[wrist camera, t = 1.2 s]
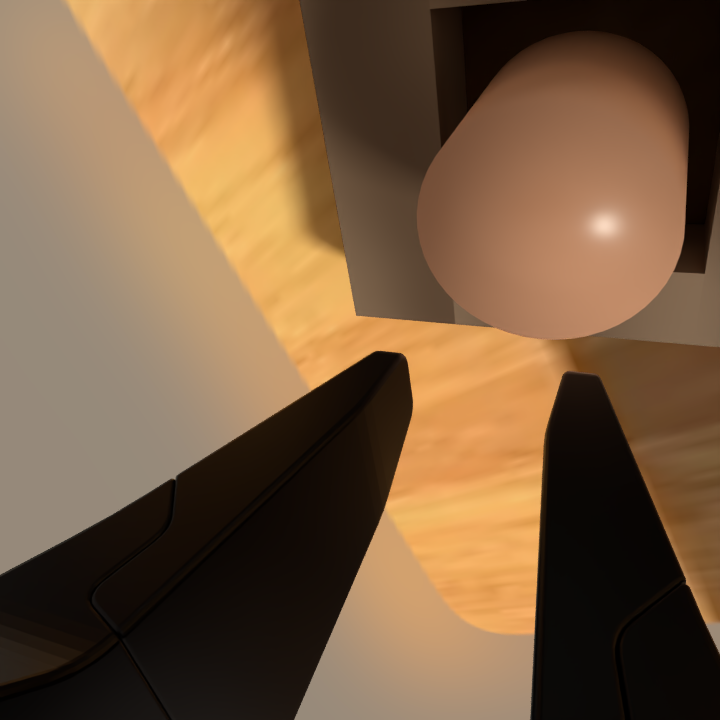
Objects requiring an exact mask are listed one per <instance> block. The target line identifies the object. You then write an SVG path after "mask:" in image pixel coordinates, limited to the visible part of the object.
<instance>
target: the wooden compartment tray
mask: <svg viewBox="0 0 720 720" xmlns="http://www.w3.org/2000/svg"><path fill="white" fill-rule="evenodd" d="M514 1H525V0H300V6H301V11H302V17H303V23H304V28H305V34H306V39H307V45H308V50H309V56H310V62H311V67H312V73H313V78H314V84H315V89H316V95H317V100H318V106H319V112H320V117H321V123H322V128H323V134H324V139H325V145H326V150H327V156H328V162H329V167H330V173H331V178H332V184H333V189H334V195H335V200H336V206H337V212H338V217H339V223H340V228H341V234H342V239H343V245H344V251H345V256H346V262H347V267H348V273H349V278H350V284H351V289H352V295H353V301H354V306H355V312H356V316H367V317H379V318H390V319H402V320H413V321H425V322H436V323H448V324H459V325H471V326H482V327H493V326H491V325H489V324H487V323H485V322H483V321H481V320H479V319H478V318H476V317H475V316H473V315H471V314H470V313H468V312H467V311H466V310H465V309H463V308H462V307H461V306H460V305H458V304H457V303H456V302H455V301H454V300H453V299H452V298H451V297H450V296H449V295H448V294H447V293H446V292H445V290H444V289H443V288H442V287H441V285H440V284H439V283H438V281H437V280H436V278H435V277H434V275H433V273H432V272H431V270H430V268H429V266H428V264H427V262H426V260H425V257H424V255H423V251H422V248H421V245H420V241H419V235H418V230H417V206H418V198H419V194H420V190H421V185H422V183H423V180H424V178H425V175H426V173H427V170H428V168H429V167H430V165H431V163H432V161H433V160H434V158H435V156H436V155H437V154H438V152H439V151H440V150H441V148H442V147H443V145H444V144H445V143H446V141H447V140H448V139H449V137H450V136H451V135H452V133H453V132H454V131H455V129H456V128H457V127H458V125H459V124H460V122H461V121H462V120H463V118H464V117H465V116H466V114H467V96H466V78H465V60H464V42H463V24H462V6H470V5H481V4H492V3H503V2H514ZM494 328H495V327H494ZM589 336H597V337H609V338H620V339H632V340H643V341H655V342H666V343H678V344H689V345H701V346H712V347H720V132H719V138H718V144H717V150H716V157H715V163H714V169H713V176H712V182H711V188H710V195H709V201H708V207H707V213H706V220H705V225H703V224H685V232H684V241H683V245H682V250H681V254H680V257H679V259H678V262H677V264H676V267H675V269H674V271H673V273H672V275H671V276H670V278H669V280H668V282H667V283H666V285H665V286H664V287H663V288H662V290H661V291H660V292H659V294H658V295H657V296H656V297H655V298H654V299H653V300H652V301H651V302H650V303H649V304H648V305H647V306H646V307H645V308H643V309H642V310H641V311H639V312H638V313H637V314H635V315H634V316H633V317H631V318H630V319H628V320H626V321H624V322H623V323H621V324H619V325H617V326H615V327H612V328H610V329H608V330H605V331H603V332H599V333H596V334H592V335H589Z"/></svg>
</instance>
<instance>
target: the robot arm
mask: <svg viewBox="0 0 720 720" xmlns="http://www.w3.org/2000/svg"><path fill="white" fill-rule="evenodd" d="M412 410H413V398H412V390H411V383H410V376H409V368H408V362H407V359H406V357H405V356H404V355H403V354H401V353H395V352H385V351H375V352H373V353H371V354H370V355H368V356H366V357H365V358H363V359H362V360H360V361H358V362H357V363H355V364H354V365H352V366H350V367H349V368H347V369H346V370H344V371H342V372H341V373H339V374H338V375H336V376H334V377H333V378H331V379H330V380H328V381H327V382H325V383H323V384H322V385H320V386H319V387H317V388H315V389H314V390H312V391H311V392H309V393H308V394H306V395H304V396H303V397H301V398H299V399H298V400H296V401H295V402H293V403H291V404H290V405H288V406H287V407H285V408H283V409H282V410H280V411H279V412H277V413H275V414H274V415H272V416H271V417H269V418H268V419H266V420H264V421H263V422H261V423H259V424H258V425H256V426H255V427H253V428H252V429H250V430H248V431H247V432H245V433H244V434H242V435H240V436H239V437H237V438H236V439H234V440H232V441H231V442H229V443H228V444H226V445H224V446H223V447H221V448H220V449H218V450H216V451H215V452H213V453H212V454H210V455H208V456H207V457H205V458H204V459H202V460H201V461H199V462H197V463H196V464H194V465H192V466H191V467H189V468H188V469H186V470H185V471H183V472H181V473H180V474H178V475H177V476H176V480H174V479H170V480H168V481H167V482H165V483H163V484H162V485H160V486H159V487H157V488H155V489H154V490H152V491H151V492H149V493H147V494H146V495H144V496H143V497H141V498H139V499H137V500H136V501H134V502H132V503H131V504H129V505H127V506H126V507H124V508H122V509H121V510H120V511H117V512H116V513H114V514H113V515H111V516H109V517H107V518H106V519H104V520H102V521H100V522H98V523H96V524H94V525H93V526H91V527H89V528H87V529H85V530H84V531H82V532H80V533H78V534H76V535H75V536H73V537H71V538H69V539H67V540H65V541H64V542H61V543H60V544H58V545H56V546H54V547H52V548H50V549H48V550H46V551H44V552H43V553H41V554H39V555H37V556H35V557H33V558H31V559H30V560H27V561H25V562H24V563H22V564H20V565H18V566H16V567H14V568H12V569H10V570H9V571H7V572H5V573H3V574H1V575H0V720H294V719H295V716H296V714H297V712H298V709H299V707H300V705H301V702H302V700H303V698H304V696H305V693H306V691H307V689H308V686H309V684H310V682H311V679H312V677H313V675H314V672H315V670H316V668H317V665H318V663H319V661H320V658H321V656H322V654H323V651H324V649H325V647H326V644H327V642H328V640H329V637H330V635H331V633H332V631H333V628H334V626H335V624H336V621H337V619H338V617H339V614H340V612H341V610H342V607H343V605H344V603H345V600H346V598H347V596H348V593H349V591H350V589H351V586H352V584H353V582H354V579H355V577H356V575H357V573H358V570H359V568H360V565H361V563H362V561H363V558H364V556H365V554H366V551H367V549H368V547H369V545H370V542H371V540H372V538H373V535H374V533H375V530H376V528H377V526H378V524H379V521H380V519H381V516H382V513H383V511H384V508H385V505H386V502H387V499H388V495H389V492H390V489H391V485H392V482H393V478H394V475H395V471H396V468H397V465H398V461H399V458H400V454H401V451H402V448H403V444H404V441H405V437H406V434H407V430H408V427H409V424H410V420H411V416H412ZM530 718H531V719H530V720H720V654H719V652H718V649H717V647H716V645H715V643H714V641H713V639H712V637H711V635H710V632H709V630H708V628H707V626H706V624H705V622H704V620H703V617H702V615H701V613H700V610H699V608H698V606H697V603H696V601H695V599H694V596H693V594H692V592H691V589H690V587H689V586H688V585H686V578H685V576H684V574H683V571H682V569H681V567H680V564H679V562H678V560H677V557H676V555H675V553H674V550H673V548H672V545H671V543H670V541H669V538H668V536H667V534H666V531H665V529H664V527H663V524H662V522H661V520H660V517H659V515H658V513H657V510H656V508H655V505H654V503H653V501H652V498H651V496H650V494H649V491H648V489H647V487H646V484H645V482H644V480H643V477H642V475H641V472H640V470H639V468H638V465H637V463H636V461H635V458H634V456H633V454H632V451H631V449H630V447H629V444H628V442H627V440H626V437H625V435H624V432H623V430H622V428H621V425H620V423H619V421H618V418H617V416H616V414H615V411H614V409H613V407H612V404H611V402H610V399H609V397H608V395H607V392H606V390H605V388H604V385H603V383H602V381H601V379H600V377H599V376H598V375H597V374H593V373H584V372H574V371H567V372H565V373H564V374H563V376H562V379H561V382H560V386H559V389H558V392H557V395H556V399H555V402H554V405H553V408H552V411H551V415H550V418H549V421H548V424H547V428H546V433H545V439H544V450H543V471H542V491H541V512H540V532H539V553H538V573H537V594H536V615H535V635H534V657H533V676H532V697H531V717H530Z"/></svg>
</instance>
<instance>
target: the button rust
mask: <svg viewBox="0 0 720 720" xmlns="http://www.w3.org/2000/svg"><path fill="white" fill-rule="evenodd" d="M688 146H689V116H688V109H687V105H686V101H685V97H684V95H683V92H682V90H681V88H680V85H679V83H678V82H677V80H676V78H675V77H674V75H673V74H672V72H671V71H670V70H669V68H668V67H667V66H666V65H665V64H664V62H663V61H662V60H661V59H659V58H658V57H657V56H656V55H655V54H654V53H653V52H651V51H650V50H648V49H647V48H645V47H644V46H642V45H641V44H639V43H637V42H635V41H633V40H630V39H628V38H626V37H623V36H620V35H616V34H613V33H608V32H601V31H573V32H566V33H561V34H558V35H554V36H550V37H547V38H545V39H543V40H540V41H538V42H536V43H534V44H532V45H530V46H529V47H527V48H525V49H523V50H522V51H521V52H519V53H518V54H517V55H515V56H514V57H513V58H511V59H510V60H509V61H508V62H507V63H506V64H505V65H504V66H503V67H502V68H501V69H500V70H499V72H498V73H497V74H496V75H495V77H494V78H493V79H492V81H491V82H490V83H489V85H488V86H487V87H486V89H485V90H484V91H483V93H482V94H481V95H480V97H479V98H478V100H477V101H476V102H475V104H474V105H473V106H472V108H471V109H470V110H469V112H468V113H467V114H466V116H465V117H464V118H463V120H462V121H461V122H460V124H459V125H458V127H457V128H456V129H455V131H454V132H453V133H452V135H451V136H450V137H449V139H448V140H447V141H446V143H445V144H444V145H443V147H442V148H441V150H440V151H439V152H438V154H437V155H436V156H435V158H434V160H433V161H432V163H431V165H430V167H429V168H428V170H427V173H426V175H425V178H424V180H423V183H422V185H421V190H420V194H419V198H418V206H417V230H418V235H419V241H420V245H421V248H422V251H423V255H424V257H425V260H426V262H427V264H428V266H429V268H430V270H431V272H432V273H433V275H434V277H435V278H436V280H437V281H438V283H439V284H440V285H441V287H442V288H443V289H444V290H445V292H446V293H447V294H448V295H449V296H450V297H451V298H452V299H453V300H454V301H455V302H456V303H457V304H458V305H460V306H461V307H462V308H463V309H465V310H466V311H467V312H468V313H470V314H471V315H473V316H475V317H476V318H478V319H479V320H481V321H483V322H485V323H487V324H489V325H491V326H493V327H495V328H497V329H500V330H503V331H506V332H508V333H512V334H516V335H520V336H524V337H530V338H537V339H552V340H559V339H573V338H578V337H584V336H589V335H592V334H596V333H599V332H603V331H605V330H608V329H610V328H612V327H615V326H617V325H619V324H621V323H623V322H624V321H626V320H628V319H630V318H631V317H633V316H634V315H635V314H637V313H638V312H639V311H641V310H642V309H643V308H645V307H646V306H647V305H648V304H649V303H650V302H651V301H652V300H653V299H654V298H655V297H656V296H657V295H658V294H659V292H660V291H661V290H662V288H663V287H664V286H665V285H666V283H667V282H668V280H669V278H670V276H671V275H672V273H673V271H674V269H675V267H676V264H677V262H678V259H679V257H680V254H681V250H682V245H683V241H684V232H685V213H686V191H687V169H688Z"/></svg>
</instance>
